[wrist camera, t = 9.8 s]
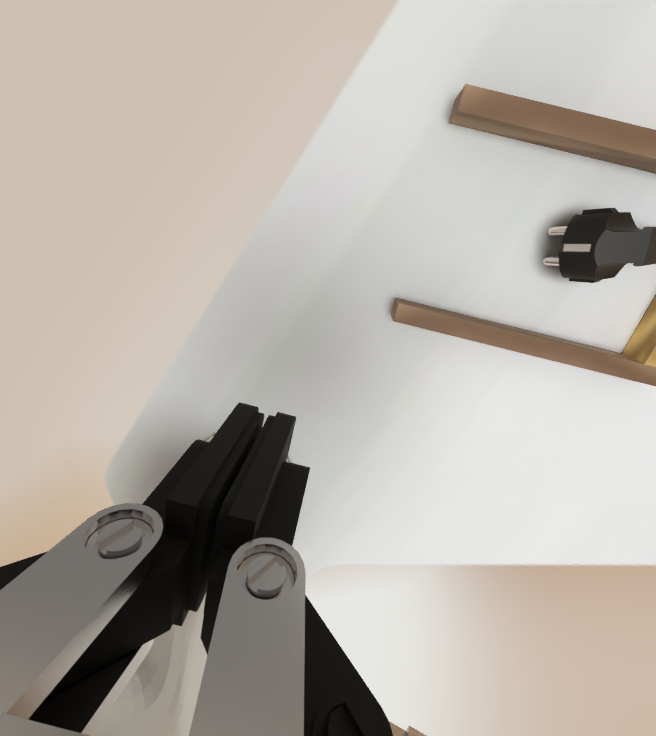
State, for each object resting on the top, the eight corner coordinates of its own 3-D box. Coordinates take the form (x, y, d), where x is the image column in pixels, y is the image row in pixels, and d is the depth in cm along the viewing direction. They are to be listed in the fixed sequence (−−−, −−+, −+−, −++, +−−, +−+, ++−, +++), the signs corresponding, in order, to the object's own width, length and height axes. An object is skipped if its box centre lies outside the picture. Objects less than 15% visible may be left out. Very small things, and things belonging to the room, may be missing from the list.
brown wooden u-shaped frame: (641, 376, 35) (666, 388, 32) (391, 314, 35) (393, 321, 33) (766, 174, 28) (810, 167, 26) (455, 98, 29) (465, 83, 26)
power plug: (687, 275, 31) (621, 289, 25) (591, 270, 37) (522, 280, 32) (709, 205, 29) (643, 204, 23) (604, 212, 35) (532, 212, 30)
